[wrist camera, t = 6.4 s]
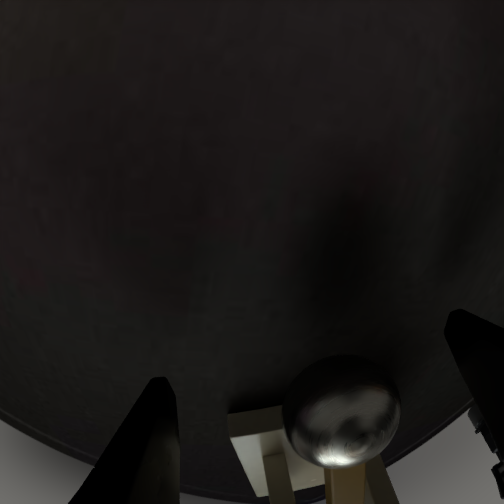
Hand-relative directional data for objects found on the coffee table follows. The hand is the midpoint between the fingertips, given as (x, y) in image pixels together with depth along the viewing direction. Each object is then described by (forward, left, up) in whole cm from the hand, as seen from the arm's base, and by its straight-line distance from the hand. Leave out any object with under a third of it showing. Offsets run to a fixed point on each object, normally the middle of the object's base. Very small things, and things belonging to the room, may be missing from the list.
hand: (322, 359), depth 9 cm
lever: (0, +5, +2) cm, 6 cm away
